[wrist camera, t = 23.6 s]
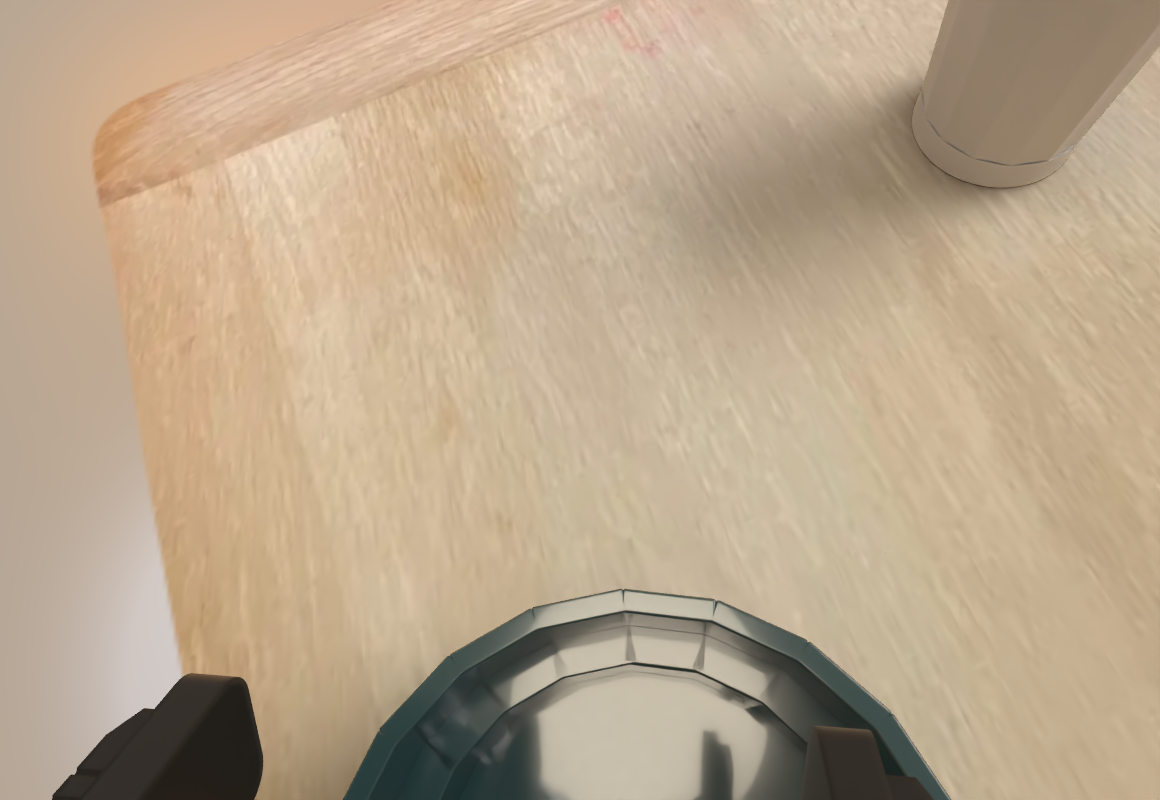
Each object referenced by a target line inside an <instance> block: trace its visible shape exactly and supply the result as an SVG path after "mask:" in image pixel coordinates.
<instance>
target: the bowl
mask: <svg viewBox="0 0 1160 800" xmlns="http://www.w3.org/2000/svg"><path fill="white" fill-rule="evenodd" d="M813 725H815V726H827V727H840V728H852V729H864V730H870V731H871V732H872V734H873V736H874V738H875V741H876V744H877V747H878V751H879V754H880V757H881V760H882V764H883V767H884V770H885V774H886V775H894V776H906V777H916V778H917V779H918V781H919V782H920V783H921V784H922V785H923V787H924V788H925V789H926V790H927V792H928V793H929V794H930V795H931V796H932V798H933V799H934V800H951V798H950V797H949V796H948V794H947V793H946V791H945V790H944V788H943V787H942V785H941V784H940V782H939V781H938V779H937V778H936V776H935V775H934V773H933V772H932V770H931V769H930V767H929V766H928V764H927V763H926V761H925V760H924V758H923V757H922V755H921V754H920V752H919V751H918V750H917V748H916V747H915V745H914V744H913V742H912V741H911V739H910V738H909V736H908V735H907V733H906V732H905V730H904V729H903V727H902V726H901V724H900V723H899V721H898V720H897V718H896V717H895V715H893V714H891V711H890V710H889V709H888V708H887V707H886V706H884V705H883V704H882V703H881V702H880V701H879V700H877V699H876V698H875V697H874V696H873V695H872V694H870V693H869V692H868V691H867V690H866V689H865V688H863V687H862V686H861V685H860V684H859V683H858V682H856V681H855V680H854V679H853V678H852V677H851V676H849V675H848V674H847V673H846V672H845V671H844V670H842V669H841V668H840V667H839V666H838V665H837V664H835V663H834V662H833V661H832V660H831V659H830V658H828V657H827V656H826V655H825V654H824V653H823V652H821V651H820V650H819V649H818V648H817V647H816V646H814V645H813V644H812V643H811V642H807V640H806V639H804V638H802V637H800V636H797V635H795V634H793V633H791V632H788V631H786V630H784V629H782V628H780V627H777V626H775V625H773V624H771V623H768V622H766V621H764V620H762V619H759V618H757V617H755V616H753V615H750V614H748V613H746V612H744V611H742V610H739V609H737V608H735V607H733V606H730V605H728V604H726V603H724V602H721V601H718V600H717V601H716V600H715V599H710V598H701V597H692V596H683V595H674V594H665V593H657V592H648V591H639V590H630V589H624V590H622V589H618V590H613V591H608V592H603V593H599V594H594V595H589V596H584V597H580V598H575V599H570V600H565V601H560V602H556V603H551V604H546V605H541V606H537V607H533V608H532V609H528V610H527V611H525V612H523V613H521V614H520V615H518V616H516V617H514V618H513V619H511V620H509V621H508V622H506V623H504V624H502V625H501V626H499V627H497V628H495V629H494V630H492V631H490V632H488V633H487V634H485V635H483V636H481V637H480V638H478V639H476V640H474V641H473V642H471V643H469V644H467V645H466V646H464V647H462V648H460V649H459V650H457V651H455V652H453V653H452V654H451V655H450V656H447V657H446V658H445V660H444V661H443V662H442V663H441V664H440V665H439V666H438V667H437V668H436V669H435V670H434V671H433V672H432V673H431V674H430V676H429V677H428V678H427V679H426V680H425V681H424V682H423V683H422V684H421V685H420V686H419V687H418V688H417V689H416V690H415V692H414V693H413V694H412V695H411V696H410V697H409V698H408V699H407V700H406V701H405V702H404V703H403V704H402V705H401V706H400V707H399V709H398V710H397V711H396V712H395V713H394V714H393V715H392V716H391V717H390V718H389V719H388V720H387V721H386V722H385V723H384V725H383V726H382V727H381V728H380V731H379V732H378V733H377V735H376V737H375V739H374V740H373V742H372V744H371V746H370V748H369V750H368V752H367V754H366V756H365V758H364V760H363V762H362V764H361V766H360V767H359V769H358V771H357V773H356V775H355V777H354V779H353V781H352V783H351V785H350V787H349V789H348V791H347V793H346V794H345V796H344V798H343V800H800V798H801V790H802V783H803V775H804V768H805V760H806V753H807V746H808V738H809V732H810V729H811V727H812V726H813Z"/></svg>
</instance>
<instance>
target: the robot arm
mask: <svg viewBox="0 0 1160 800" xmlns="http://www.w3.org/2000/svg"><path fill="white" fill-rule="evenodd" d="M262 770H263V754H262V749H261V744H260V740H259V735H258V730H257V726H256V721H255V717H254V712H253V708H252V703H251V698H250V694H249V689H248V686H247V684H246V682H245V680H244V679H242V678H241V677H231V676H219V675H206V674H194V673H191V674H187V675H185V676H183V677H182V678H181V679H180V680H179V681H178V682H177V683H176V684H175V685H174V686H173V688H172V689H171V690H170V691H169V692H168V694H167V695H166V696H165V697H164V698H163V700H162V701H161V702H160V703H159V704H158V705H157V707H156V708H155V709H146V708H145V709H142V710H141V711H140V712H138V713H137V714H135V715H134V716H132V717H131V718H130V719H128V720H127V721H125V722H124V723H122V724H121V725H120V726H118V727H117V728H115V729H114V730H113V731H111V732H110V733H108V734H107V735H106V736H105V737H104V738H103V739H102V740H101V741H100V742H99V743H98V745H97V746H96V747H95V748H94V749H93V750H92V752H91V753H90V754H89V755H88V756H87V757H86V758H85V759H84V761H83V762H82V763H81V764H80V765H79V766H78V767H77V772H76V774H75V775H70V776H69V777H68V779H67V780H66V781H65V782H64V783H63V784H62V786H60V788H59V789H58V790H57V791H56V792H55V793H54V794H53V798H52V800H254V798H255V796H256V794H257V791H258V788H259V785H260V781H261V777H262ZM800 800H934V799H933V798H932V796H931V795H930V794H929V793H928V792H927V790H926V789H925V788H924V787H923V785H922V784H921V783H920V782H919V781H918V779H917V778H916V777H906V776H894V775H886V774H885V770H884V767H883V764H882V760H881V757H880V754H879V751H878V747H877V744H876V741H875V738H874V736H873V734H872V732H871V731H870V730H864V729H852V728H840V727H827V726H815V725H813V726H812V727H811V729H810V732H809V738H808V746H807V753H806V760H805V768H804V775H803V783H802V790H801V798H800Z"/></svg>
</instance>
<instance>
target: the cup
mask: <svg viewBox="0 0 1160 800" xmlns="http://www.w3.org/2000/svg"><path fill="white" fill-rule="evenodd" d="M1159 47H1160V0H949V1H948V4H947V8H946V11H945V14H944V18H943V21H942V24H941V28H940V31H939V34H938V38H937V41H936V44H935V48H934V51H933V54H932V58H931V61H930V64H929V68H928V71H927V74H926V78H925V81H924V84H923V87H922V89H921V92H920V94H919V97H918V99H917V102H916V104H915V107H914V110H913V114H912V129H913V133H914V137H915V139H916V142H917V144H918V145H919V147H920V149H921V150H922V152H923V153H924V154H925V155H926V157H927V158H928V159H929V160H930V161H931V162H932V163H934V164H935V165H936V166H937V167H939V168H940V169H941V170H943V171H945V172H946V173H948V174H950V175H952V176H954V177H956V178H958V179H960V180H963V181H966V182H969V183H972V184H976V185H981V186H987V187H998V188H1007V187H1018V186H1023V185H1028V184H1031V183H1034V182H1037V181H1039V180H1042V179H1044V178H1046V177H1048V176H1049V175H1051V174H1052V173H1054V172H1055V171H1056V170H1058V169H1059V168H1060V167H1061V166H1062V165H1063V164H1064V162H1065V161H1066V160H1067V158H1068V157H1069V155H1070V154H1071V153H1072V151H1073V150H1074V148H1075V147H1076V146H1077V144H1078V143H1079V141H1080V140H1081V139H1082V137H1083V136H1084V135H1085V134H1086V133H1087V131H1088V130H1089V129H1090V128H1091V127H1092V126H1093V124H1094V123H1095V122H1096V121H1097V120H1098V119H1099V117H1100V116H1101V115H1102V114H1103V113H1104V111H1105V110H1106V109H1107V108H1108V107H1109V106H1110V104H1111V103H1112V102H1113V101H1114V100H1115V98H1116V97H1117V96H1118V95H1119V94H1120V93H1121V91H1122V90H1123V89H1124V88H1125V87H1126V86H1127V84H1128V83H1129V82H1130V81H1131V80H1132V78H1133V77H1134V76H1135V75H1136V74H1137V73H1138V71H1139V70H1140V69H1141V68H1142V67H1143V66H1144V64H1145V63H1146V62H1147V61H1148V60H1149V58H1150V57H1151V56H1152V55H1153V54H1154V53H1155V51H1156V50H1157V49H1158V48H1159Z"/></svg>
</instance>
